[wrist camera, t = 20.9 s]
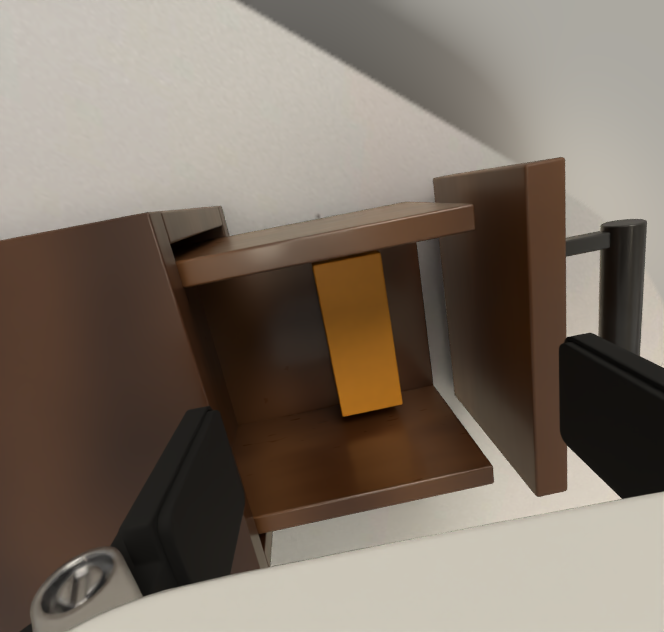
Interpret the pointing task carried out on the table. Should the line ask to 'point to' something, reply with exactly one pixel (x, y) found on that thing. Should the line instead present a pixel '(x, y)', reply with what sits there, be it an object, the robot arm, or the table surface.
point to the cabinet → (94, 388)
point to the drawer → (405, 343)
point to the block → (358, 331)
